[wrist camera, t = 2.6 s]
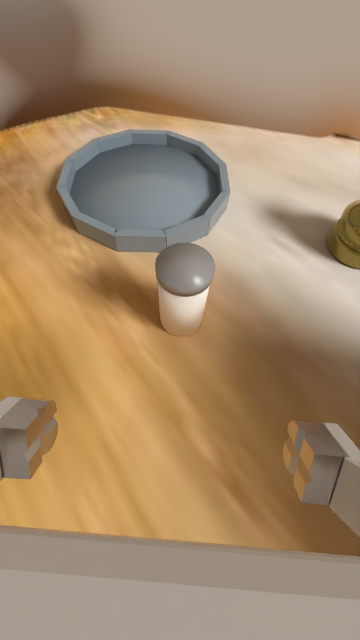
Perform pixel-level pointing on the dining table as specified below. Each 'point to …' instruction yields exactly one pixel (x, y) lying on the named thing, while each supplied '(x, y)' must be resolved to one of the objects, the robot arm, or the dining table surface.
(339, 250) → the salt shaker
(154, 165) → the dish
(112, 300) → the dining table surface
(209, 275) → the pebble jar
